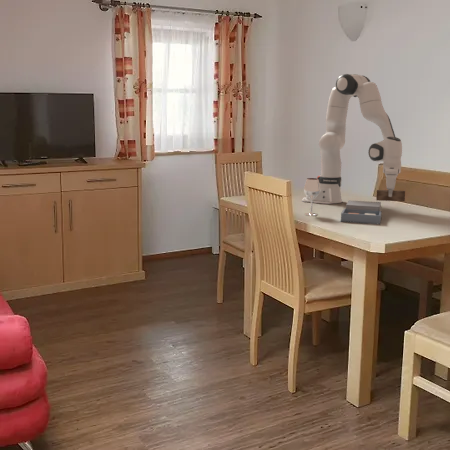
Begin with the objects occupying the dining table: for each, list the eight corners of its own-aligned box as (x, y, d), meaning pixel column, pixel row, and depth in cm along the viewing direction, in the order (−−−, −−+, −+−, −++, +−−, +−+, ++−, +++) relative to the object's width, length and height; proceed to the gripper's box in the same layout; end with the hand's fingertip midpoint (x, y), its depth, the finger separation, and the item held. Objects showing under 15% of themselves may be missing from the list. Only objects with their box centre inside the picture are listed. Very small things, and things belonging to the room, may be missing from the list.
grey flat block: (345, 216, 301) (346, 204, 299) (348, 211, 314) (348, 200, 312) (378, 218, 296) (379, 206, 295) (380, 213, 309) (380, 202, 308)
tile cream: (365, 213, 294) (364, 218, 294) (364, 215, 289) (363, 220, 290) (375, 213, 292) (375, 219, 293) (374, 215, 288) (374, 220, 288)
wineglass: (301, 212, 309) (303, 177, 305) (318, 213, 309) (319, 177, 306) (304, 216, 301) (305, 179, 297) (320, 216, 301) (322, 180, 298)
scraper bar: (376, 200, 314) (376, 190, 313) (376, 199, 317) (377, 190, 316) (404, 201, 310) (405, 191, 309) (404, 200, 313) (405, 190, 312)
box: (340, 221, 289) (341, 213, 288) (343, 216, 301) (343, 208, 300) (379, 224, 284) (380, 215, 283) (380, 219, 296) (381, 211, 295)
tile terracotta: (348, 212, 294) (348, 217, 295) (347, 214, 290) (347, 219, 290) (359, 213, 293) (358, 218, 294) (358, 215, 288) (358, 220, 289)
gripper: (386, 166, 321) (384, 192, 324) (384, 171, 302) (383, 198, 304) (398, 167, 319) (396, 193, 322) (398, 171, 300) (396, 199, 303)
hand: (390, 196), depth 313 cm, fingers closed on scraper bar, 3 cm apart
